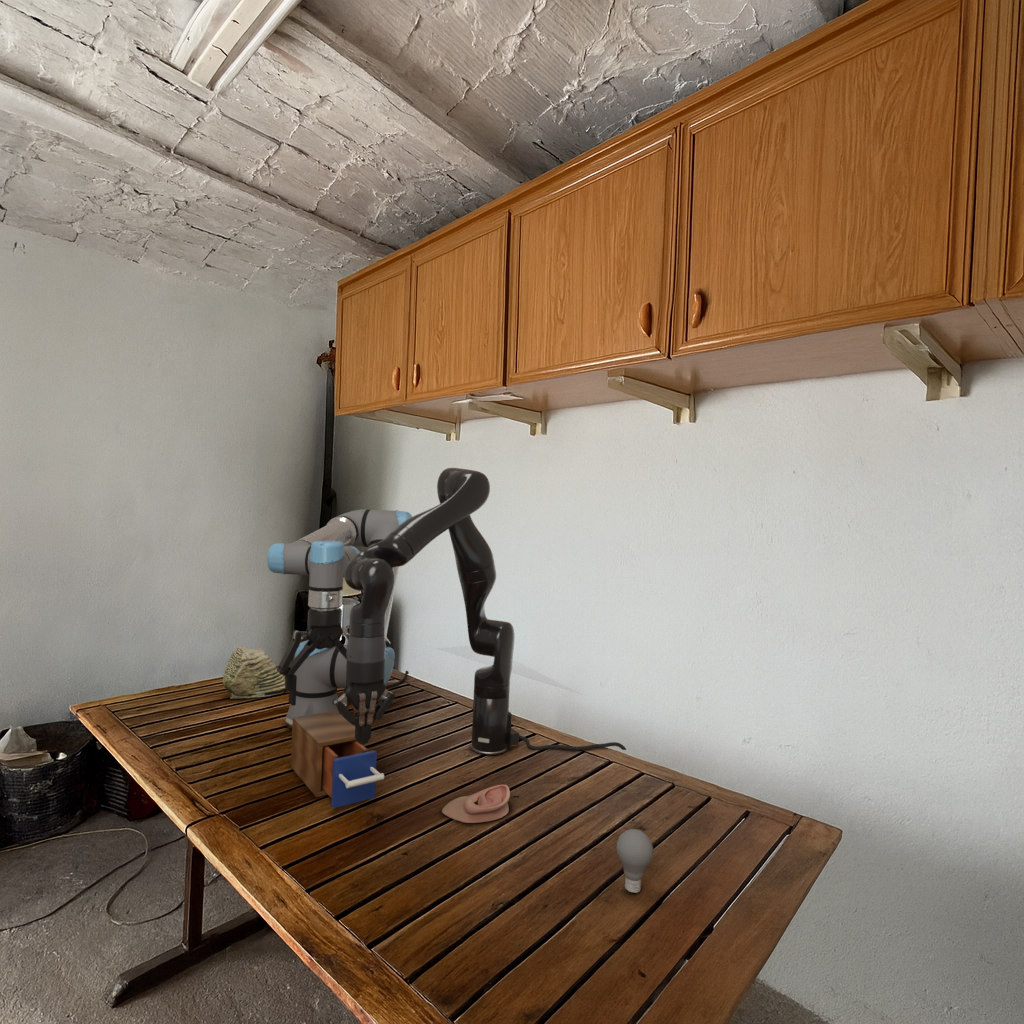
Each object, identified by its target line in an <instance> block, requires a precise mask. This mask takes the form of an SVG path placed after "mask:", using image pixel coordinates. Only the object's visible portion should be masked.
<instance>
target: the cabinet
mask: <svg viewBox="0 0 1024 1024" xmlns="http://www.w3.org/2000/svg"><path fill="white" fill-rule="evenodd" d="M353 740H356V739H355V724H354V725H352V724H351V723H349V722H348V721H347V720H346V719H345V718H344V717H342V716H341V715H340V714H339V713H338V712H336V711H329V712H323V713H317V714H311V715H305V716H299V717H293V722H292V729H291V749H290V750H291V751H290V768H291V769H292V770H293V771H294V773H295V775H297V776H298V777H299V778H300V780H301V781H302V782H303V783H304V784H305V786H306V787H307V788H308V789H309V790H310V792H311V793H312V794H313V795H314V796H315V798H320V797H324V796H329V795H328V794H327V793H326V792H325V791H324V789H323V788H322V787H321V777H322V751H323V746H328V745H333V744H338V743H343V742H348V741H353ZM362 745H363V746H364V747H365V744H362Z"/></svg>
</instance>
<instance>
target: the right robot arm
mask: <svg viewBox="0 0 1024 1024" xmlns="http://www.w3.org/2000/svg"><path fill="white" fill-rule="evenodd" d="M436 482H437V484H436V490H437V491H436V492H437V497H438V502H439V504H438V505H436V506H433V507H432V508H429V509H427V510H424V511H423V512H420V513H417V514H416V515H413V516H412V517H411V518H410V519H408V520H406V521H405V522H403V523H402V524H401V525H399V526H398V527H397V528H396V529H395V530H394V531H393V532H391V533H390V534H389V535H388V536H387V537H386V538H385V539H383V540H382V541H380V542H378V543H376V544H374V545H372V546H370V547H369V548H368V547H366V548H365V549H364V550H361V551H360V553H359V554H357V555H356V556H355V557H353V558H352V559H351V560H350V562H349V563H348V564H347V566H346V569H345V572H344V578H343V579H344V582H345V583H346V585H347V586H348V587H349V588H351V589H352V590H355V591H357V592H363V594H362V598H361V602H360V603H358V604H355V605H353V606H352V607H351V609H350V612H349V624H348V625H349V639H347V644H346V645H347V653H346V656H347V664H346V686H345V688H343V691H342V692H343V693H342V694H341V695H340V696H338V699H336V698H335V699H333V701H332V703H333V704H334V706H335V707H336V708H337V709H338V711H339V712H340V713H341V714H342V715H343V717H344V718H345V719H346V720H347V721H348V722H349V723H351V724H352V725H354V726H355V739H356V740H357V741H358V743H360V744H364V745H366V744H368V743H369V740H371V737H372V724H373V723H374V722H375V721H380V720H381V719H382V718H383V716H384V715H385V713H386V711H387V710H388V709H389V707H390V706H391V704H392V703H393V701H394V700H395V698H396V694H395V693H394V692H392V691H390V690H388V689H387V688H386V686H387V685H385V684H384V674H385V649H386V644H385V614H386V611H387V608H388V605H389V602H390V598H391V595H392V591H393V587H394V582H395V576H394V571H393V567H399V568H400V567H403V566H405V565H407V564H408V563H409V562H411V561H412V560H413V559H414V558H415V557H416V556H417V555H418V554H419V553H421V551H423V549H424V548H426V547H427V546H428V545H429V544H430V543H432V541H434V540H435V539H436V538H438V537H439V536H440V535H442V534H443V533H445V532H446V531H448V533H449V538H450V541H451V546H452V549H453V554H454V558H455V564H456V570H457V575H458V579H459V583H460V587H461V590H462V597H463V601H464V608H465V616H466V625H467V633H468V642H469V645H470V649H471V650H472V652H473V653H475V654H477V655H481V656H487V657H491V658H493V662H492V664H491V665H489V666H488V665H487V666H484V667H480V668H478V669H476V670H475V672H474V677H473V678H474V680H473V700H472V701H473V704H472V705H473V706H472V723H471V724H472V727H471V731H472V732H471V744H470V750H471V751H473V752H474V753H476V754H479V755H483V756H497V755H502V754H504V753H506V752H507V751H510V750H511V747H514V746H519V743H520V740H521V741H523V742H525V745H526V747H527V748H528V749H530V750H533V751H544V750H551V749H553V750H555V749H556V750H567V751H588V750H593V749H601V748H602V749H603V748H608V747H609V748H610V747H617V748H619V749H621V750H622V751H627V748H626V747H625V745H623V744H622V743H620V742H616V741H611V742H605V743H595V744H588V745H582V746H580V745H579V746H575V745H574V746H572V745H563V744H546V745H541V746H535V745H532V744H531V743H530V740H529V739H528V738H527V737H525V736H523V735H520V732H519V731H517V730H515V729H514V728H513V727H512V719H513V718H512V714H513V713H512V712H510V691H511V690H510V689H511V676H512V670H513V662H514V661H513V660H514V650H515V635H516V634H515V633H516V632H515V627H514V625H513V624H512V623H511V622H509V621H503V620H498V619H490V618H488V617H487V615H486V610H485V605H486V601H487V599H488V598H489V595H490V594H491V592H492V591H493V588H494V586H495V583H496V581H497V570H496V565H495V557H494V553H493V551H492V549H491V547H490V545H489V543H488V541H487V540H486V539H485V538H484V535H482V533H481V532H480V530H479V529H478V527H477V526H476V524H475V523H474V520H473V519H472V516H471V515H472V514H473V513H475V512H477V511H479V510H480V509H481V508H482V507H483V506H484V505H485V504H486V502H487V501H488V499H489V496H490V492H491V484H490V480H489V478H488V476H487V475H486V474H484V473H482V472H481V471H478V470H473V469H469V468H461V467H460V468H459V467H448V468H445V469H443V470H442V471H441V472H440V474H439V476H438V478H437V481H436ZM347 699H348V703H350V705H351V706H352V711H353V714H352V712H350V710H349V708H347V707H348V704H347Z"/></svg>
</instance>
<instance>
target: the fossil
mask: <svg viewBox="0 0 1024 1024" xmlns="http://www.w3.org/2000/svg"><path fill="white" fill-rule="evenodd" d="M277 668H278V667H277V665H276V663H275V662H274V660H273V659H272V658H271V657H270V656H269V655H268V654H267V653H266V652H265V650H264V649H263V648H260V647H258V648H251V647H247V646H246V647H245V646H238V647H237V648H236V649H235V650H233V651H232V653H231V656H230V657H229V659H228V660H227V663H226V666H225V668H224V671H223V675H222V676H223V677H222V685H223V687H224V688H225V690H226V691H228V693H229V698H230V699H250V698H264V697H271V696H275V695H281V694H284V693H285V691H287V690H286V688H285V675H281V674H280V673H279V672H277Z"/></svg>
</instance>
